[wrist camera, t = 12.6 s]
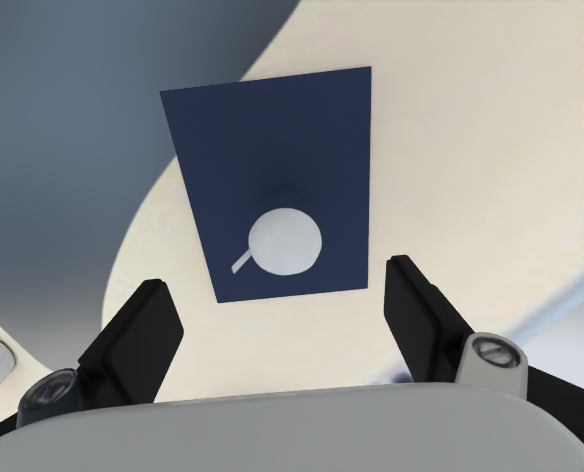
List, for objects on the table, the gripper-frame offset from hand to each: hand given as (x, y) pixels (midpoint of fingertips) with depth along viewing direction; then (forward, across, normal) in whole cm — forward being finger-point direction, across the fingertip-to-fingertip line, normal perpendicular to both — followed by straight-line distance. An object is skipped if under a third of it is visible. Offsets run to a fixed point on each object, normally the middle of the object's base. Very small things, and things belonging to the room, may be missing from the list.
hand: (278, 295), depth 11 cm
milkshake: (+14, 0, +1) cm, 14 cm away
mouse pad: (+14, 0, +1) cm, 14 cm away
